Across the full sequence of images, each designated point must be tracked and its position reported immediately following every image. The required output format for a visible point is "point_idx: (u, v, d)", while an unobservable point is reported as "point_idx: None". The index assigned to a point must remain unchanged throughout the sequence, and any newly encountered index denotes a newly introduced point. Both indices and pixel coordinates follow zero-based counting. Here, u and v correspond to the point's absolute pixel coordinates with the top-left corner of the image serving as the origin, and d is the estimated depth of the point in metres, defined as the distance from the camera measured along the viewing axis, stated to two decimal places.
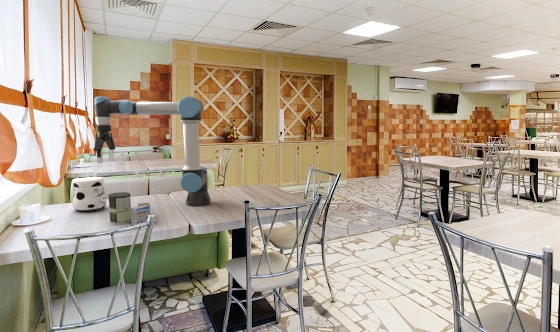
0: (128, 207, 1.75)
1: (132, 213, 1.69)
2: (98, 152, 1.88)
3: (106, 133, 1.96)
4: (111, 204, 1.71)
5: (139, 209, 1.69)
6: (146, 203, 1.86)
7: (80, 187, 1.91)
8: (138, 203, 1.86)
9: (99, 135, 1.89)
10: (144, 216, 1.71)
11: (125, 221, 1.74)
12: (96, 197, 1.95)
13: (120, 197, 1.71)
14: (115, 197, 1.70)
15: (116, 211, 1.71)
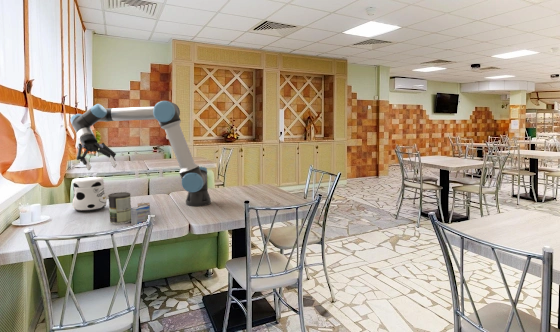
0: (128, 207, 1.75)
1: (132, 213, 1.69)
2: (82, 159, 1.77)
3: (92, 143, 1.87)
4: (111, 204, 1.71)
5: (139, 209, 1.69)
6: (146, 203, 1.86)
7: (80, 187, 1.91)
8: (138, 203, 1.86)
9: (78, 145, 1.81)
10: (144, 216, 1.71)
11: (125, 221, 1.74)
12: (96, 197, 1.95)
13: (120, 197, 1.71)
14: (115, 197, 1.70)
15: (116, 211, 1.71)
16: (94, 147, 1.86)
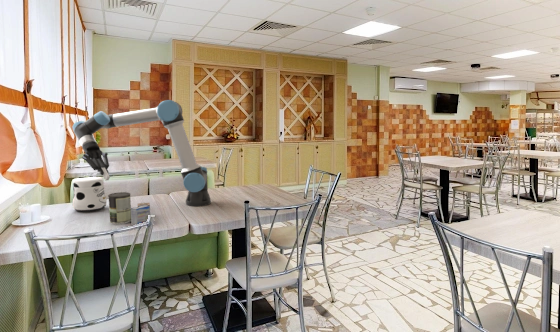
0: (128, 207, 1.75)
1: (132, 213, 1.69)
2: (99, 170, 1.79)
3: (94, 150, 1.85)
4: (111, 204, 1.71)
5: (139, 209, 1.69)
6: (146, 203, 1.86)
7: (80, 187, 1.91)
8: (138, 203, 1.86)
9: (84, 156, 1.79)
10: (144, 216, 1.71)
11: (125, 221, 1.74)
12: (96, 197, 1.95)
13: (120, 197, 1.71)
14: (115, 197, 1.70)
15: (116, 211, 1.71)
16: (97, 155, 1.84)
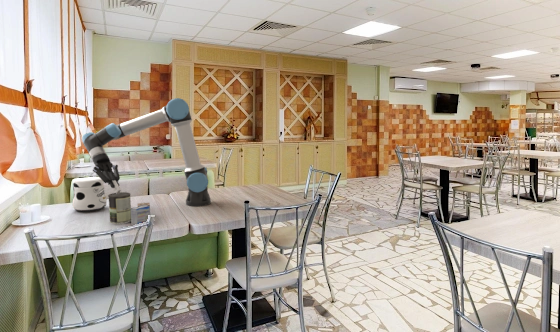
0: (128, 207, 1.75)
1: (132, 213, 1.69)
2: (110, 183, 1.76)
3: (105, 163, 1.81)
4: (111, 204, 1.71)
5: (139, 209, 1.69)
6: (146, 203, 1.86)
7: (80, 187, 1.91)
8: (138, 203, 1.86)
9: (95, 169, 1.75)
10: (144, 216, 1.71)
11: (125, 221, 1.74)
12: (96, 197, 1.95)
13: (120, 197, 1.71)
14: (115, 197, 1.70)
15: (116, 211, 1.71)
16: (107, 167, 1.80)
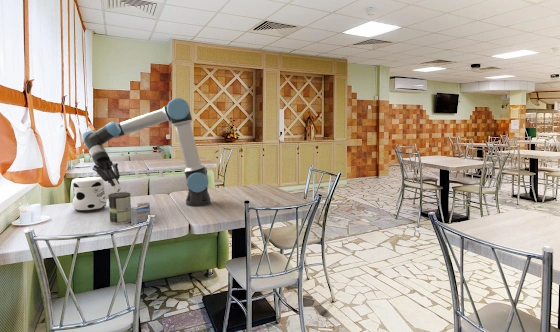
0: (128, 207, 1.75)
1: (132, 213, 1.69)
2: (110, 181, 1.75)
3: (105, 161, 1.81)
4: (111, 204, 1.71)
5: (139, 209, 1.69)
6: (146, 203, 1.86)
7: (80, 187, 1.91)
8: (138, 203, 1.86)
9: (95, 167, 1.75)
10: (144, 216, 1.71)
11: (125, 221, 1.74)
12: (96, 197, 1.95)
13: (120, 197, 1.71)
14: (115, 197, 1.70)
15: (116, 211, 1.71)
16: (107, 165, 1.80)
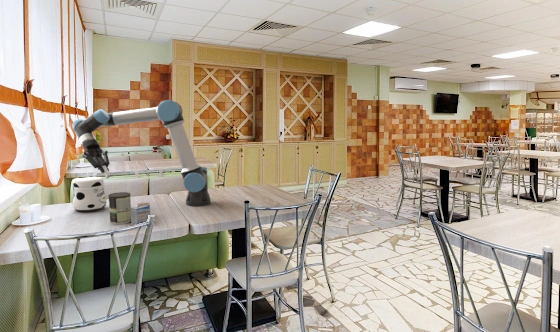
0: (128, 207, 1.75)
1: (132, 213, 1.69)
2: (99, 168, 1.79)
3: (94, 148, 1.85)
4: (111, 204, 1.71)
5: (139, 209, 1.69)
6: (146, 203, 1.86)
7: (80, 187, 1.91)
8: (138, 203, 1.86)
9: (85, 154, 1.79)
10: (144, 216, 1.71)
11: (125, 221, 1.74)
12: (96, 197, 1.95)
13: (120, 197, 1.71)
14: (115, 197, 1.70)
15: (116, 211, 1.71)
16: (97, 153, 1.84)
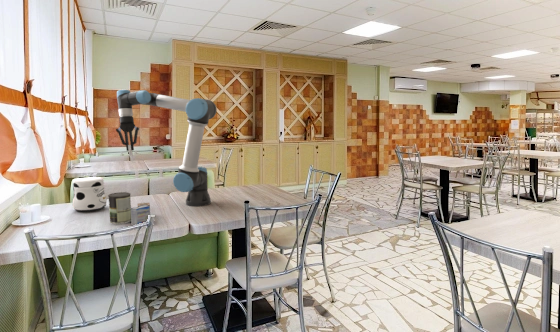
0: (128, 207, 1.75)
1: (132, 213, 1.69)
2: (126, 146, 2.04)
3: (127, 124, 2.03)
4: (111, 204, 1.71)
5: (139, 209, 1.69)
6: (146, 203, 1.86)
7: (80, 187, 1.91)
8: (138, 203, 1.86)
9: (117, 131, 2.02)
10: (144, 216, 1.71)
11: (125, 221, 1.74)
12: (96, 197, 1.95)
13: (120, 197, 1.71)
14: (115, 197, 1.70)
15: (116, 211, 1.71)
16: (128, 129, 2.03)
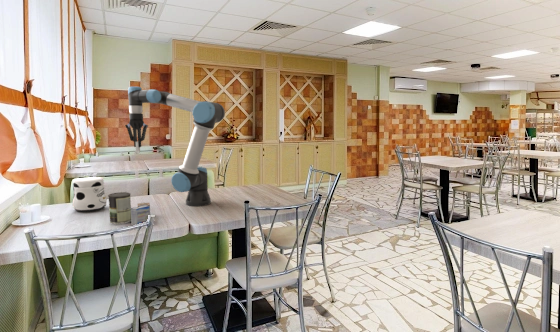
0: (128, 207, 1.75)
1: (132, 213, 1.69)
2: None
3: (136, 121, 2.05)
4: (111, 204, 1.71)
5: (139, 209, 1.69)
6: (146, 203, 1.86)
7: (80, 187, 1.91)
8: (138, 203, 1.86)
9: None
10: (144, 216, 1.71)
11: (125, 221, 1.74)
12: (96, 197, 1.95)
13: (120, 197, 1.71)
14: (115, 197, 1.70)
15: (116, 211, 1.71)
16: (136, 126, 2.06)
